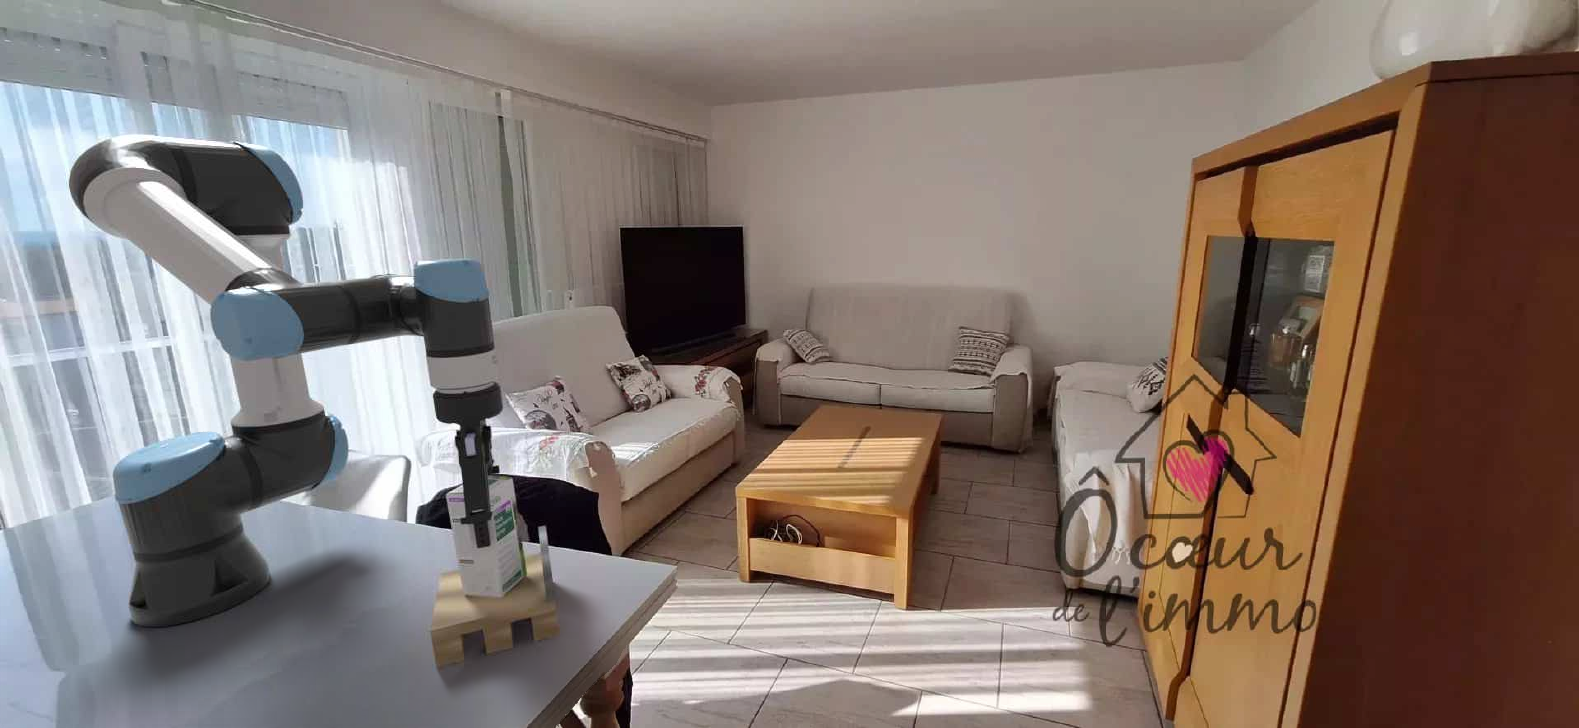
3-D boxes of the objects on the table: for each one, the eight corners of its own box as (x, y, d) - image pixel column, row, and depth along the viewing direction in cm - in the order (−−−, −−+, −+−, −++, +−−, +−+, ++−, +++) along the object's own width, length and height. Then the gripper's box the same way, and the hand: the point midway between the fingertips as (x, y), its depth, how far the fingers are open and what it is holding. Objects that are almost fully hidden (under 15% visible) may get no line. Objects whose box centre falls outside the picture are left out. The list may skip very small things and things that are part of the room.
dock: (446, 605, 89) (436, 547, 87) (552, 581, 94) (545, 525, 92) (436, 667, 76) (424, 600, 74) (559, 635, 82) (551, 571, 80)
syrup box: (502, 599, 81) (486, 493, 78) (461, 596, 82) (444, 491, 79) (528, 575, 87) (514, 475, 83) (489, 572, 88) (474, 474, 85)
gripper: (498, 406, 68) (522, 583, 73) (500, 363, 91) (518, 501, 95) (419, 416, 66) (449, 600, 70) (441, 369, 88) (463, 511, 93)
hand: (489, 543), depth 83 cm, fingers open, 13 cm apart
